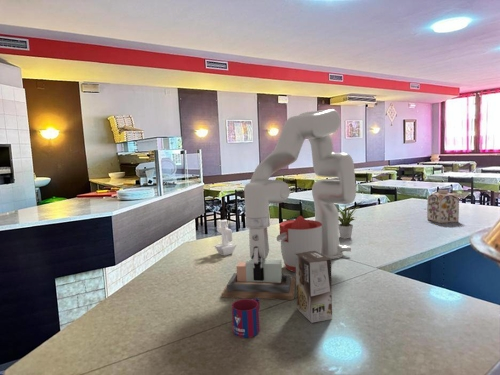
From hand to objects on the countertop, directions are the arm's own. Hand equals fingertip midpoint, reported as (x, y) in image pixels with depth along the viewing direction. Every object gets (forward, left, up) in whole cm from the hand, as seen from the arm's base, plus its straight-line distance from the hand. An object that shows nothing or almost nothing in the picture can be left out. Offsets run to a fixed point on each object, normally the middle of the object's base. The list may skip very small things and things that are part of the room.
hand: (259, 276), depth 109 cm
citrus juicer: (-12, -20, -4) cm, 24 cm away
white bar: (0, 0, -1) cm, 1 cm away
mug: (-1, +24, -4) cm, 24 cm away
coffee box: (-17, +15, -4) cm, 23 cm away
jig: (0, 0, -4) cm, 4 cm away
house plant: (-34, -67, -4) cm, 75 cm away
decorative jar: (-91, -104, -4) cm, 138 cm away
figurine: (+21, -37, -4) cm, 43 cm away
